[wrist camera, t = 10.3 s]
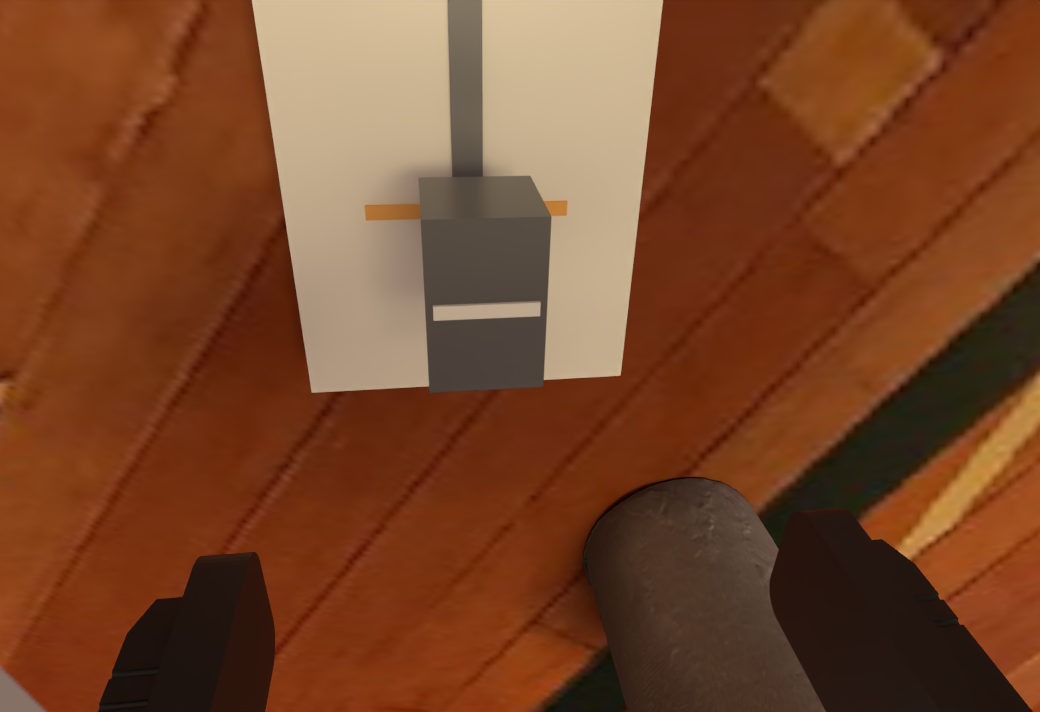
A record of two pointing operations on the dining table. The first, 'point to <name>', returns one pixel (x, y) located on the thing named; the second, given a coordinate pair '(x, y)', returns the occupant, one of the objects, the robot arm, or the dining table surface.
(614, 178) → the dimmer panel
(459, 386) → the fader
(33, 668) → the dining table surface
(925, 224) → the dining table surface
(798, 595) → the robot arm
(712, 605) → the pillar candle
